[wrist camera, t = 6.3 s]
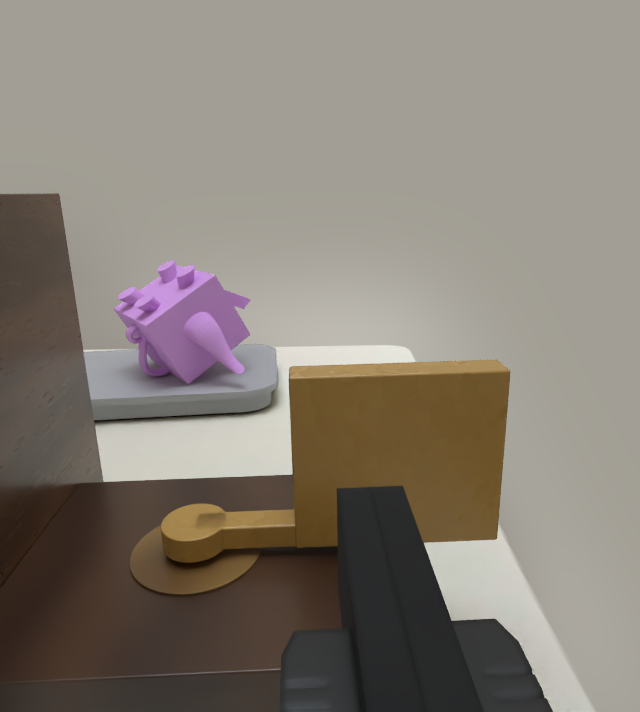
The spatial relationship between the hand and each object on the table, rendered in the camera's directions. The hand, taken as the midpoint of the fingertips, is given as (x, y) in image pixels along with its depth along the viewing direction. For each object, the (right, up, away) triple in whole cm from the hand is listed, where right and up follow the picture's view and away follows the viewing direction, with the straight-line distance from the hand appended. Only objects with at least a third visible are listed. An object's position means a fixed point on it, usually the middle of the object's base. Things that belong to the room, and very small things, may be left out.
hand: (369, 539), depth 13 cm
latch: (-1, -3, +10) cm, 10 cm away
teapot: (-16, +12, +40) cm, 45 cm away
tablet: (-19, 0, +45) cm, 49 cm away
